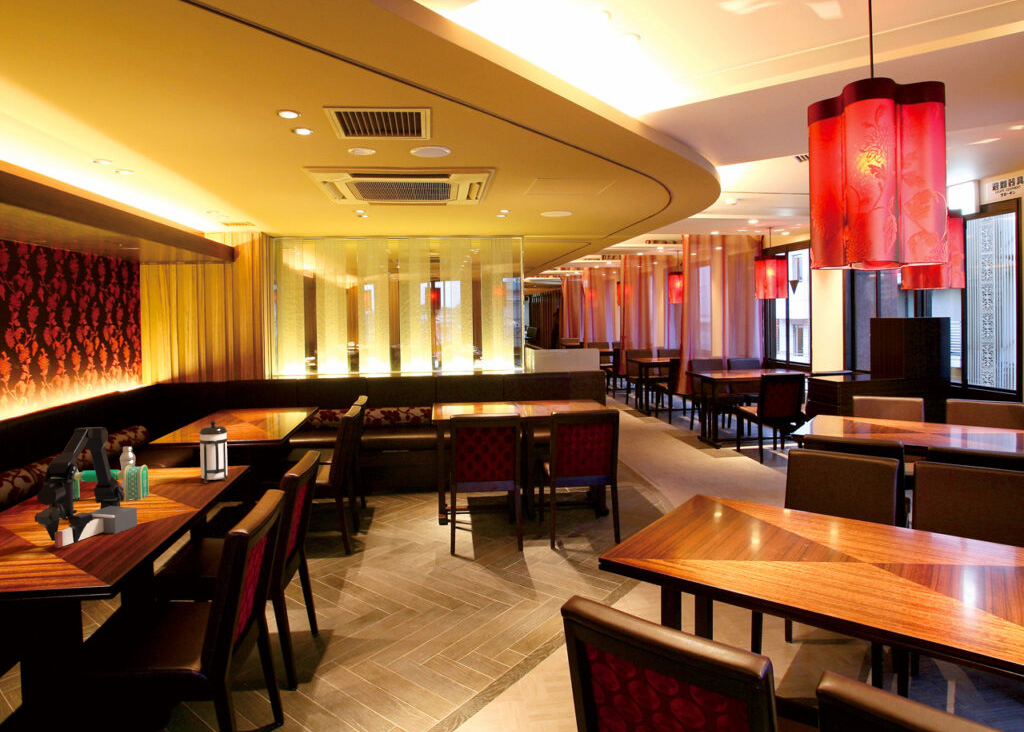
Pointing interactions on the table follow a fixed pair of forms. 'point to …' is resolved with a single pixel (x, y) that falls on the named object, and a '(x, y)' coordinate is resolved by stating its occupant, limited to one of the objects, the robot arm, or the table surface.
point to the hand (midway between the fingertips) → (64, 541)
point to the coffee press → (213, 452)
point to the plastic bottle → (127, 459)
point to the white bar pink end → (91, 529)
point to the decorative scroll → (132, 478)
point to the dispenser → (117, 518)
